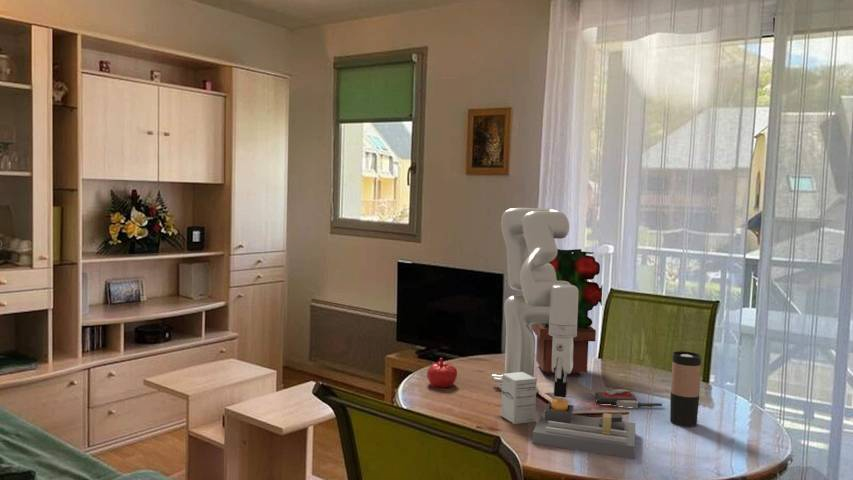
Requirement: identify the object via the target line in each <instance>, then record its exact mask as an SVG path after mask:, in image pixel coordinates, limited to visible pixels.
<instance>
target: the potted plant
mask: <svg viewBox="0 0 853 480" xmlns="http://www.w3.org/2000/svg"><path fill="white" fill-rule="evenodd" d="M557 251H558V252H557V256H556V257H555V258H554V259H553V260H552V261H551V262H549V263H550V264H551V265H552V266H553V267H554V269H555V271H556V276H557V281H567V282H569V283H570V284H571V285H574V286H576V287H577V288H578V317H577V336H576V337H573V368H572V371H571V373H570V374H567V377H581V373H585V374H586V373H588V362H589V361H588V360H589V359H588V358H589V356H588V355H589V342H596V337H597V336H596V334H597V330H596V329H595V328H593V327H592V325H593V319H592V318H591V317H589V311H592V310H593V309H594V307H596V306H598V304H600V306H601V307H602V306H603V303H602V302H603V284H601V286H600V285H599V284H598V283H597V282H595V281H591V280H593V279H594V278H595V276H598V275H599V274H600V273H601V265H600V263H599V262H598V261H596V259H595V257H594V256H593V255H594V252H593V251H592V252H591V251H582V248H577V249H559V248H557ZM587 254H589V255H587ZM592 254H593V255H592ZM588 280H589V281H588ZM531 331H532V332H533V334H534V335H536V351H535V352H536V356H535V361H536V362H537V364H538V365H539V367H540V368H541V370H542V372H544V373H545V374H546V375H547V376H555V372H554V373H553V372H552V341H553V336H550V335H549V324H531Z"/></svg>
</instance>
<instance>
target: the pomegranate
mask: <svg viewBox="0 0 853 480" xmlns="http://www.w3.org/2000/svg"><path fill="white" fill-rule="evenodd" d="M448 362H449V361H444V359H443V358H442V357H440V358H439V360H438V361H436V362H432V364H431V366H430V367H429V368H428V370H427V373H426V376H427V379H428V381H429V384H430V385H431V387H435V388H450V387H452V386H453V385H454V384H455V382H456V380H457V377H458V370H457V368H456V367H454V365H453V364H452V363H450V362H449V363H448Z"/></svg>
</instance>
